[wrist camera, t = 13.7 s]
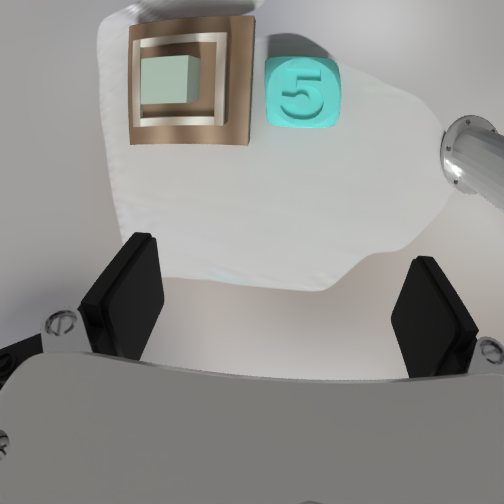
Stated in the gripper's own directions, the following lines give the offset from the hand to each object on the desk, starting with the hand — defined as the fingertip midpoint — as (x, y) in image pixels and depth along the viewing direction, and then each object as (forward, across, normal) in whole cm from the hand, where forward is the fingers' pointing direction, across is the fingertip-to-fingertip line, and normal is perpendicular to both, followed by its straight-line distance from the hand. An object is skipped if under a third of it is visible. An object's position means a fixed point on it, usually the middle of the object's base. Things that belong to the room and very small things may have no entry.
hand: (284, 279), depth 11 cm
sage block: (+26, +12, -7) cm, 30 cm away
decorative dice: (+33, -2, -6) cm, 33 cm away
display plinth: (+32, +12, -7) cm, 35 cm away
